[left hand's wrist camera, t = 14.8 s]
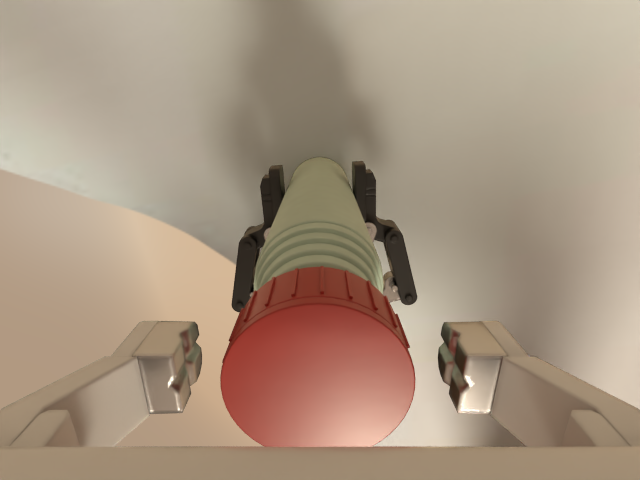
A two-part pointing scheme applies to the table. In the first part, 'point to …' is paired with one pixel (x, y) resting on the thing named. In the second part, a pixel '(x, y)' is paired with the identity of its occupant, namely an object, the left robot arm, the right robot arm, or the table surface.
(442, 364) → the left robot arm
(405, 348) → the cap
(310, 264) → the bottle
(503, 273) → the table surface
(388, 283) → the right robot arm
